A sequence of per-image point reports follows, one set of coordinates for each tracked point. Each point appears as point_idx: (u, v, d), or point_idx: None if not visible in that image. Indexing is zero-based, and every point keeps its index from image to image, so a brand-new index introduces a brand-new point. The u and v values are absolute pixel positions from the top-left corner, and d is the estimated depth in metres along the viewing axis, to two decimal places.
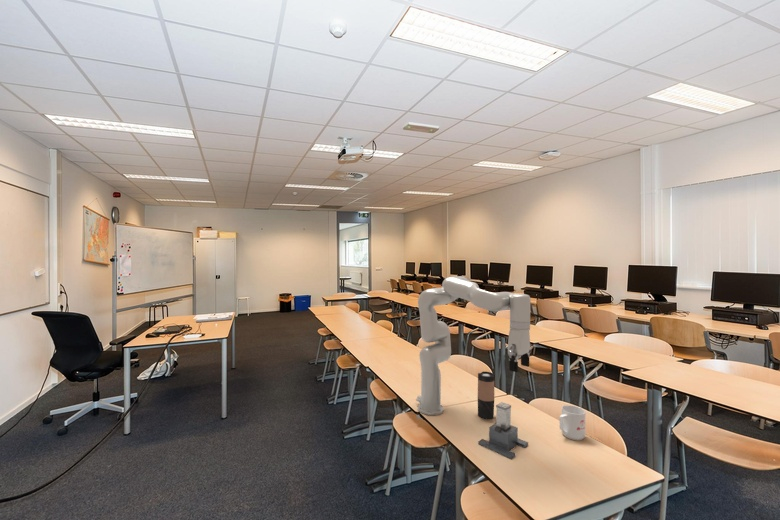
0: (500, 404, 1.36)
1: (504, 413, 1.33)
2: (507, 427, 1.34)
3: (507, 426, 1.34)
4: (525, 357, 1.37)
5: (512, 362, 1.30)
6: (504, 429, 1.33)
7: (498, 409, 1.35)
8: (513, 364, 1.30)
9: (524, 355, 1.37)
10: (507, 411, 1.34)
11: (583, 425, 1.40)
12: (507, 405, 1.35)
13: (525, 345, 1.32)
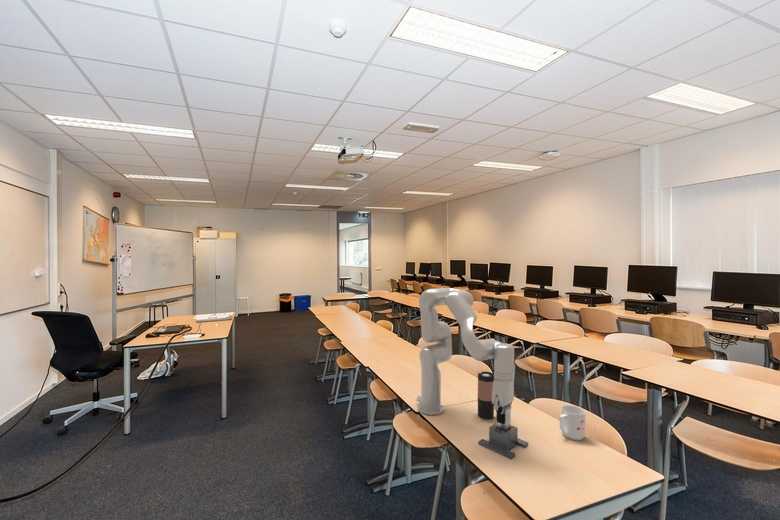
0: (500, 404, 1.36)
1: (504, 413, 1.33)
2: (507, 427, 1.34)
3: (507, 426, 1.34)
4: None
5: (499, 414, 1.34)
6: (504, 429, 1.33)
7: None
8: (500, 416, 1.33)
9: None
10: (507, 411, 1.34)
11: (583, 425, 1.40)
12: (507, 405, 1.35)
13: (509, 395, 1.34)
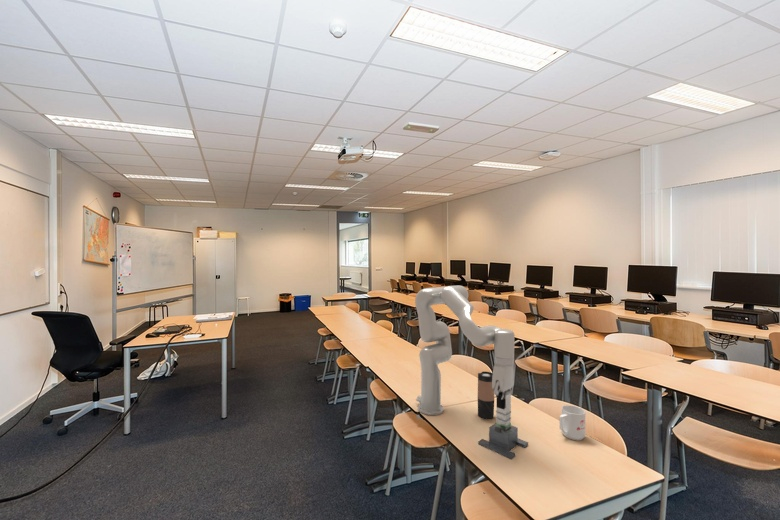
0: None
1: (504, 398, 1.33)
2: (507, 412, 1.34)
3: (507, 411, 1.34)
4: None
5: (499, 399, 1.34)
6: (504, 414, 1.33)
7: None
8: (500, 401, 1.33)
9: None
10: (507, 396, 1.34)
11: (583, 425, 1.40)
12: (507, 390, 1.35)
13: (509, 381, 1.34)
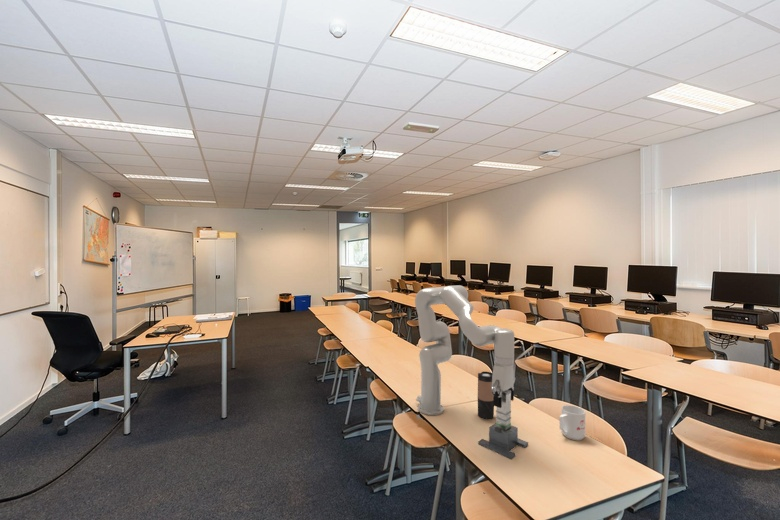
0: None
1: (504, 398, 1.33)
2: (507, 412, 1.34)
3: (507, 411, 1.34)
4: None
5: (496, 398, 1.32)
6: (504, 414, 1.33)
7: None
8: (497, 400, 1.32)
9: (509, 389, 1.39)
10: (507, 396, 1.34)
11: (583, 425, 1.40)
12: (507, 390, 1.35)
13: (509, 380, 1.34)
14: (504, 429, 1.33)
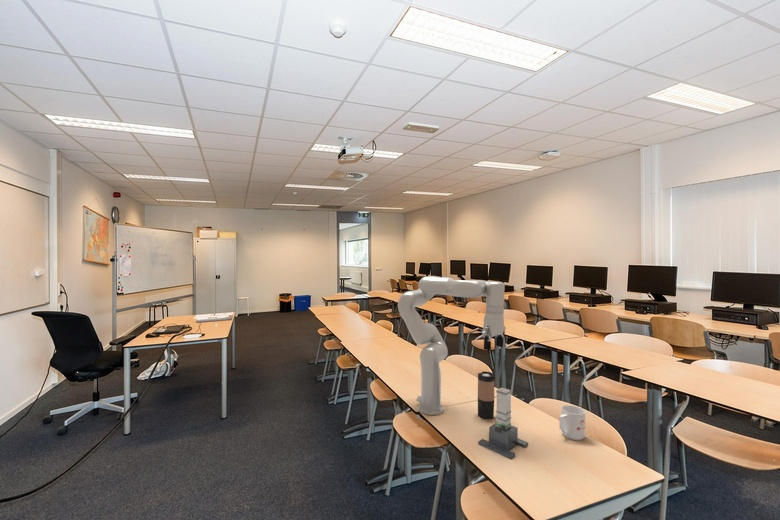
0: (500, 389, 1.36)
1: (504, 398, 1.33)
2: (507, 412, 1.34)
3: (507, 411, 1.34)
4: (499, 338, 1.53)
5: (486, 342, 1.47)
6: (504, 414, 1.33)
7: (498, 394, 1.35)
8: (487, 343, 1.46)
9: (499, 337, 1.53)
10: (507, 396, 1.34)
11: (583, 425, 1.40)
12: (507, 390, 1.35)
13: (498, 327, 1.48)
14: (504, 429, 1.33)
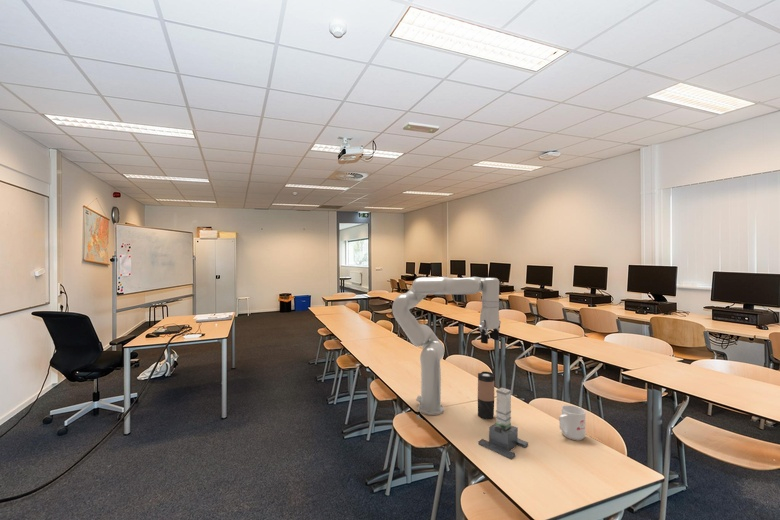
0: (500, 389, 1.36)
1: (504, 398, 1.33)
2: (507, 412, 1.34)
3: (507, 411, 1.34)
4: (495, 332, 1.60)
5: (483, 335, 1.53)
6: (504, 414, 1.33)
7: (498, 394, 1.35)
8: (484, 337, 1.53)
9: (494, 330, 1.60)
10: (507, 396, 1.34)
11: (583, 425, 1.40)
12: (507, 390, 1.35)
13: (494, 321, 1.55)
14: (504, 429, 1.33)
